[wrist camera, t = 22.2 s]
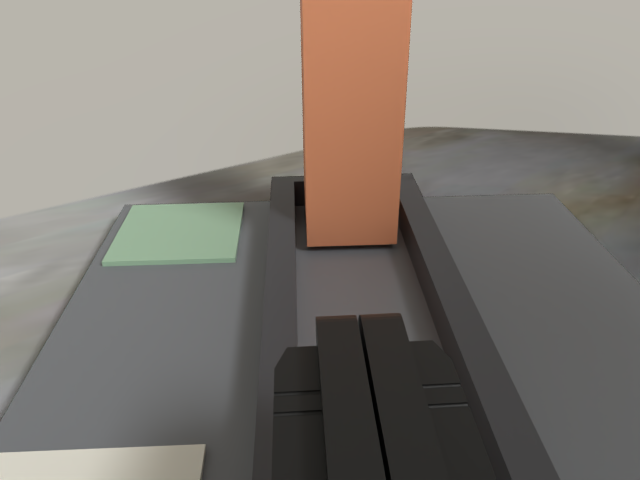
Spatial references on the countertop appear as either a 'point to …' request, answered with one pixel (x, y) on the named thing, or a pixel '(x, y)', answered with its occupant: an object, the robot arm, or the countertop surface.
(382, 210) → the handle
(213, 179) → the countertop surface
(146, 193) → the countertop surface
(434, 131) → the countertop surface
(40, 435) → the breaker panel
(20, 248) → the countertop surface
